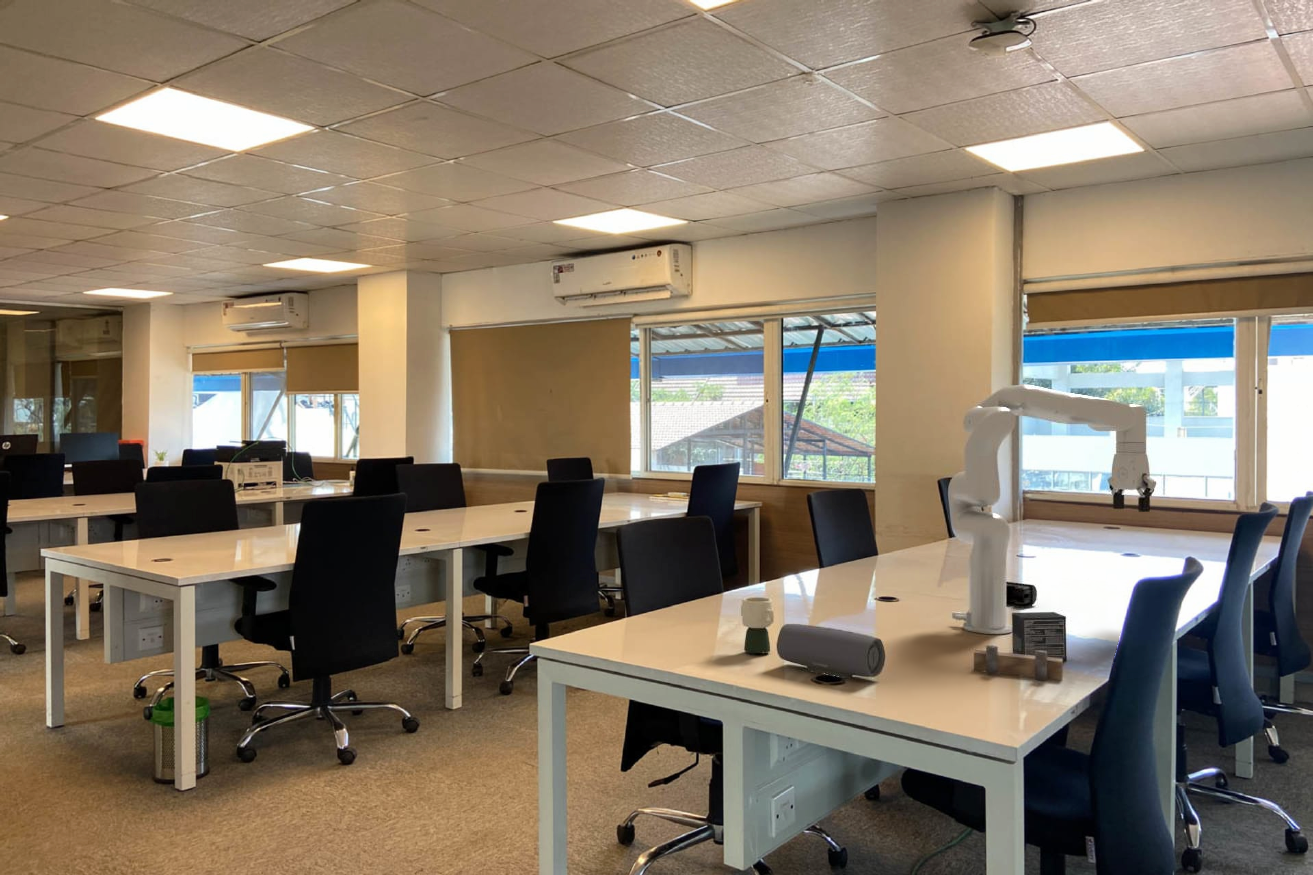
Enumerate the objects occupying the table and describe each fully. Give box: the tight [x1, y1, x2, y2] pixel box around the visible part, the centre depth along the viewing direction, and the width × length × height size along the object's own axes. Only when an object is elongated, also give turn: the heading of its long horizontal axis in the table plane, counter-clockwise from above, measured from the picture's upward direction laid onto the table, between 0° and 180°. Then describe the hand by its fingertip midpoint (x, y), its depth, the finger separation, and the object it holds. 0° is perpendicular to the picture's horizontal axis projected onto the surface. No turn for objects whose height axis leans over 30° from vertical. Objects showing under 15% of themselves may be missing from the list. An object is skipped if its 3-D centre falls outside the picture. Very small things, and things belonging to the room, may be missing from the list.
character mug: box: [740, 596, 775, 655], centre depth 219 cm, size 11×7×13 cm, turn 37°
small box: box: [1011, 611, 1068, 662], centre depth 213 cm, size 11×6×10 cm, turn 92°
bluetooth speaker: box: [776, 623, 886, 679], centre depth 201 cm, size 23×9×10 cm, turn 48°
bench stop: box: [973, 645, 1064, 682], centre depth 199 cm, size 18×5×6 cm, turn 63°
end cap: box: [1006, 581, 1038, 609], centre depth 279 cm, size 10×7×7 cm
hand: (1131, 510), depth 254 cm, fingers open, 9 cm apart
